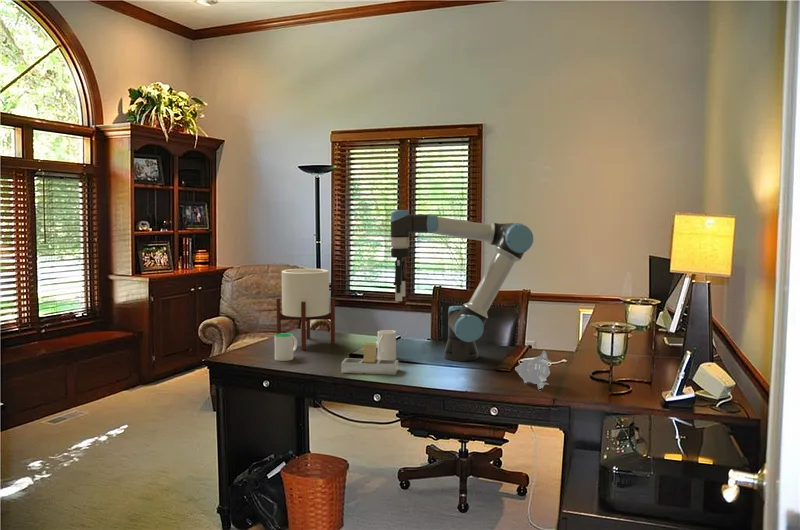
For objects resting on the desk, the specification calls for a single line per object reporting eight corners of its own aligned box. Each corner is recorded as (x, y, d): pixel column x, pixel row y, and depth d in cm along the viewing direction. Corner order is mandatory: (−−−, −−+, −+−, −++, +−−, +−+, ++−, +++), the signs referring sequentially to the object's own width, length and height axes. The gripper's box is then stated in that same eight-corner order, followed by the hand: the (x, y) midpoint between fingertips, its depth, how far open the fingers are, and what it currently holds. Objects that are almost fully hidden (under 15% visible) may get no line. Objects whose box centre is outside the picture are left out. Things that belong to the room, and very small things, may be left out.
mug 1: (288, 353, 284) (288, 331, 283) (302, 355, 280) (302, 332, 279) (270, 359, 273) (270, 335, 272) (285, 361, 269) (285, 337, 268)
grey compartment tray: (398, 369, 257) (398, 359, 256) (395, 374, 249) (395, 364, 249) (345, 367, 259) (345, 358, 259) (341, 372, 251) (341, 362, 251)
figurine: (508, 386, 233) (537, 386, 223) (513, 347, 238) (541, 345, 228) (526, 393, 239) (555, 393, 228) (531, 355, 244) (559, 353, 233)
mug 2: (386, 363, 267) (386, 335, 266) (369, 360, 272) (369, 333, 271) (400, 357, 277) (400, 330, 276) (383, 355, 282) (383, 328, 281)
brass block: (376, 367, 256) (376, 342, 255) (374, 369, 251) (374, 345, 251) (365, 366, 256) (365, 342, 255) (363, 369, 252) (363, 344, 251)
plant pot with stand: (338, 343, 305) (338, 270, 302) (303, 351, 288) (302, 274, 285) (308, 337, 320) (308, 267, 317) (272, 344, 303) (271, 270, 300)
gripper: (394, 245, 272) (394, 294, 274) (387, 249, 247) (387, 303, 249) (411, 245, 271) (412, 294, 273) (406, 249, 246) (406, 303, 248)
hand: (400, 298), depth 261 cm, fingers open, 13 cm apart
